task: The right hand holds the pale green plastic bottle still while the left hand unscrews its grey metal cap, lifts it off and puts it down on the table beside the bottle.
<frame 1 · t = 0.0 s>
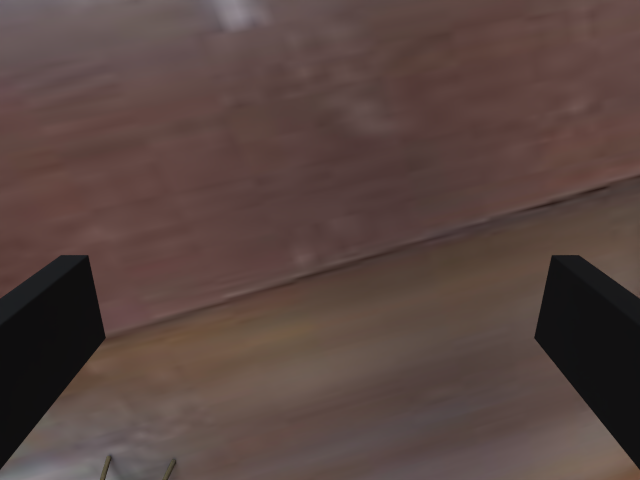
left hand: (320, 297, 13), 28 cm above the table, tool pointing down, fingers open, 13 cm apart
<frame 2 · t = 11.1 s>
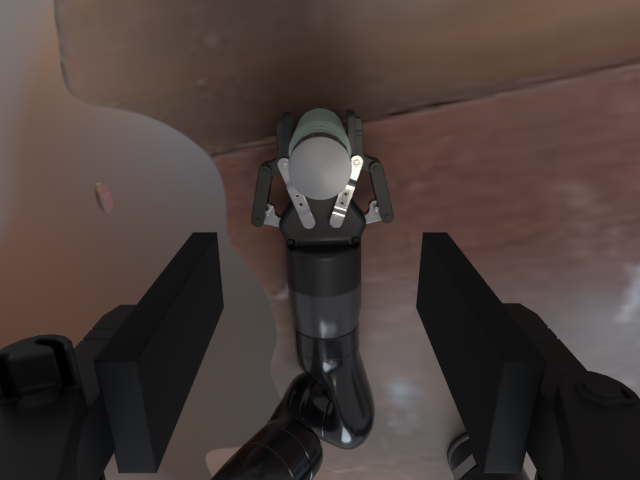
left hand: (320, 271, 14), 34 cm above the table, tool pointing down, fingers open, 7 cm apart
right hand: (318, 112, 39), fingers closed on bottle, 5 cm apart
cap: (319, 168, 29), point 18 cm above the table, screwed on, not yet turned
bottle: (319, 132, 46), on the table, touching right hand
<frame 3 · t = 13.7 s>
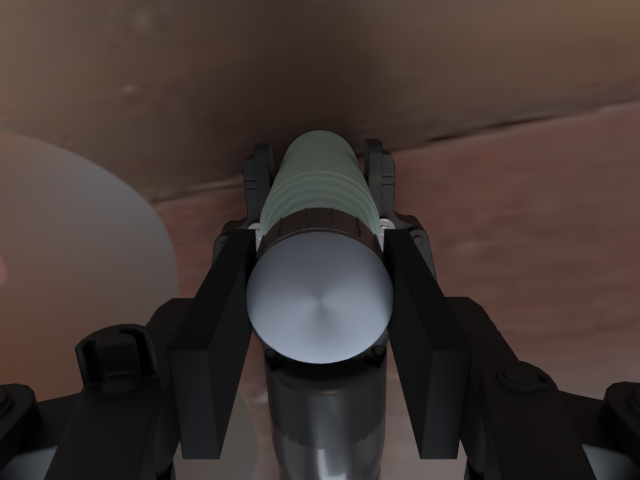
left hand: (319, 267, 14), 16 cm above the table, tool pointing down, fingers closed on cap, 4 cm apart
cap: (319, 297, 13), point 18 cm above the table, screwed on, not yet turned, touching left hand
bottle: (319, 167, 29), on the table, touching right hand
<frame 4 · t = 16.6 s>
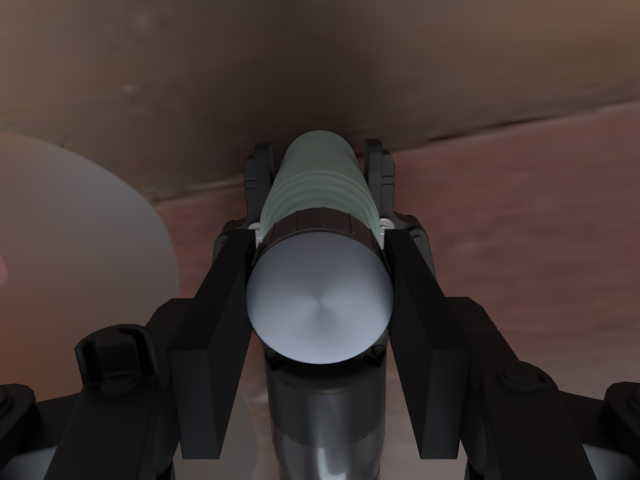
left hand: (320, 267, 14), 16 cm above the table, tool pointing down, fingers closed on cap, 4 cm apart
cap: (319, 297, 13), point 18 cm above the table, turned 75° so far, risen 0.1 cm, still on its thread, touching left hand
bottle: (319, 167, 29), on the table, touching right hand
when the left hand's fingers open (1 cm above the table, at t = 32.5 s): cap stays where it is, point 2 cm above the table.
when the right hand's fingers open (7 cm above the table, at t = 33.8 s): bottle stays where it is, on the table.
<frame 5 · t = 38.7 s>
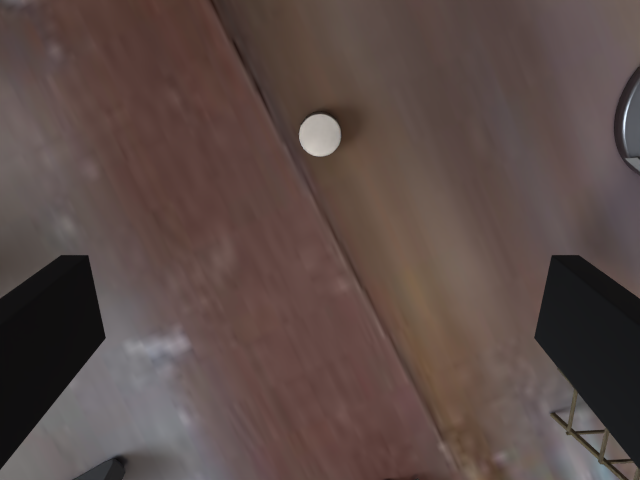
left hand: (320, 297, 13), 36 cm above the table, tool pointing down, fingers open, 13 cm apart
cap: (320, 135, 44), point 2 cm above the table, off its thread
miniature windmill: (584, 388, 58), on the table
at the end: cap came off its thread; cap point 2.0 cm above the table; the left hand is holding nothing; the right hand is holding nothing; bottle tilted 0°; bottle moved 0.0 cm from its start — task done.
